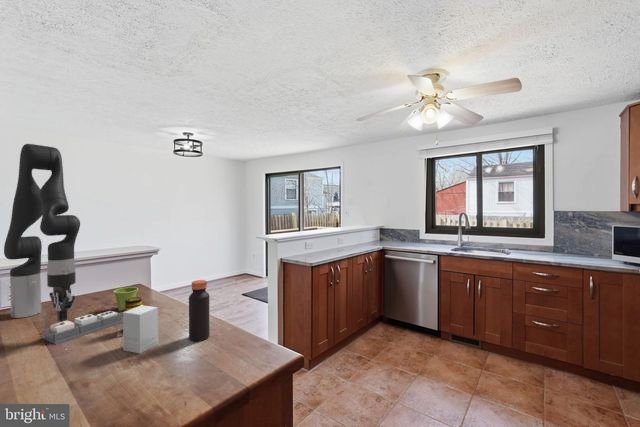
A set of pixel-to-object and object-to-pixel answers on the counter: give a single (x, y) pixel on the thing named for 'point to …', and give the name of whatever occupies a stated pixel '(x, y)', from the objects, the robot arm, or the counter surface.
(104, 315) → the tile three
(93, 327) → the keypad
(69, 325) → the tile one
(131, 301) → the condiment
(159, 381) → the counter surface
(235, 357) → the counter surface
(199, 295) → the bottle
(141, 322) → the supplement box
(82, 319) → the tile two
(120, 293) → the plant pot
